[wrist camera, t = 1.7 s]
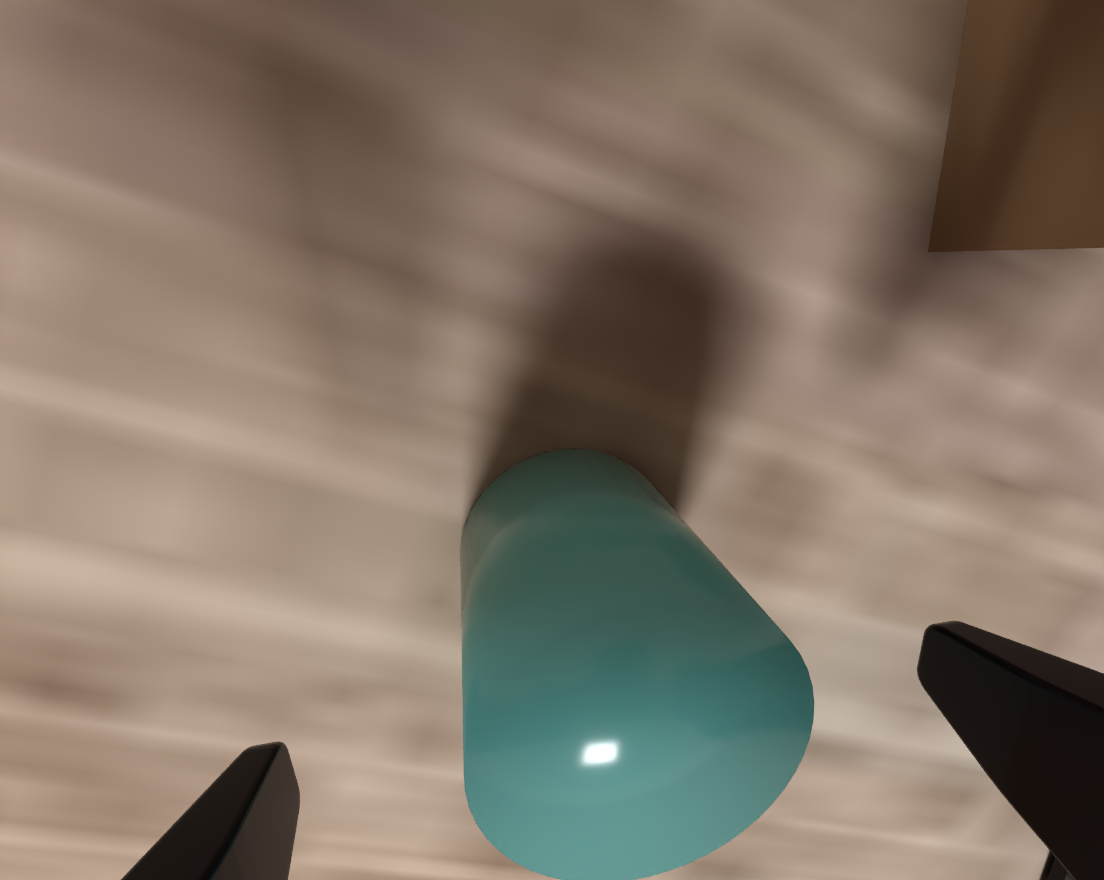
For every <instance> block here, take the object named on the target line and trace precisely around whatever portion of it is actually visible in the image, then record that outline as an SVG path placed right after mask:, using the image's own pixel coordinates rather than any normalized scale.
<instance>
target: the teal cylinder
mask: <svg viewBox="0 0 1104 880" xmlns="http://www.w3.org/2000/svg"><path fill="white" fill-rule="evenodd" d="M460 562H461V625H462V688H463V751H464V783H465V793H466V797H467V801H468V805H469V808H470V811H471V813H472V815H473V817H474V819H475V822H476V824H477V825H478V827H479V828H480V830H481V831H482V833H483V834H484V835H485V837H486V838H487V839H488V840H489V841H490V842H491V843H492V844H493V845H494V846H495V847H496V848H497V849H498V850H499V851H500V852H501V853H502V854H504V855H505V856H507V857H508V858H509V859H511V860H512V861H514V862H515V863H517V864H519V865H521V866H523V867H525V868H527V869H529V870H531V871H534V872H537V873H540V874H542V875H545V876H548V877H553V878H557V879H562V880H634V879H639V878H645V877H649V876H653V875H656V874H660V873H663V872H667V871H670V870H672V869H675V868H678V867H680V866H683V865H686V864H688V863H690V862H692V861H695V860H697V859H699V858H701V857H703V856H705V855H707V854H709V853H711V852H712V851H714V850H716V849H717V848H719V847H721V846H723V845H724V844H726V843H727V842H729V841H730V840H732V839H733V838H734V837H736V836H737V835H739V834H740V833H741V832H743V831H744V830H745V829H746V828H747V827H749V826H750V825H751V824H752V823H753V822H755V821H756V820H757V819H758V818H759V817H760V816H761V815H762V814H763V813H764V812H765V811H766V810H767V809H768V808H769V807H770V806H771V805H772V804H773V803H774V801H775V800H776V799H777V798H778V796H779V795H780V794H781V793H782V791H783V790H784V789H785V787H786V786H787V784H788V783H789V781H790V780H791V778H792V777H793V775H794V773H795V772H796V770H797V768H798V766H799V764H800V762H801V760H802V758H803V756H804V753H805V750H806V747H807V744H808V741H809V739H810V734H811V729H812V724H813V716H814V697H813V687H812V683H811V679H810V676H809V672H808V669H807V667H806V665H805V663H804V661H803V659H802V657H801V655H800V653H799V652H798V650H797V649H796V648H795V646H794V645H793V644H792V642H791V641H790V640H789V639H788V637H787V636H786V635H785V634H784V633H783V632H782V631H781V630H780V628H779V627H778V626H777V625H776V624H775V623H774V622H773V620H772V619H771V618H770V617H769V616H768V615H767V614H766V613H765V611H764V610H763V609H762V608H761V607H760V606H759V605H758V604H757V602H756V601H755V600H754V599H753V598H752V597H751V596H750V595H749V593H748V592H747V591H746V590H745V589H744V588H743V587H742V586H741V584H740V583H739V582H738V581H737V580H736V579H735V578H734V577H733V575H732V574H731V573H730V572H729V571H728V570H727V569H726V568H725V566H724V565H723V564H722V563H721V562H720V561H719V560H718V559H717V557H716V556H715V555H714V554H713V553H712V552H711V551H710V549H709V548H708V547H707V546H706V545H705V544H704V543H703V542H702V540H701V539H700V538H699V537H698V536H697V535H696V534H695V533H694V531H693V530H692V529H691V528H690V527H689V526H688V525H687V524H686V522H685V521H684V520H683V519H682V518H681V517H680V516H679V515H678V513H677V512H676V511H675V510H674V509H673V508H672V507H671V506H670V504H669V503H668V502H667V501H666V500H665V499H664V498H663V497H662V495H661V494H660V493H659V492H658V491H657V490H656V489H655V488H654V486H653V485H652V484H651V483H650V482H649V481H648V480H647V479H646V478H645V477H644V476H643V475H642V474H641V473H640V472H639V471H638V470H637V469H635V468H634V467H633V466H631V465H630V464H628V463H627V462H625V461H623V460H621V459H619V458H617V457H615V456H612V455H609V454H606V453H603V452H598V451H594V450H587V449H561V450H556V451H550V452H546V453H542V454H539V455H536V456H533V457H530V458H528V459H526V460H524V461H521V462H519V463H518V464H516V465H514V466H513V467H511V468H509V469H508V470H506V471H505V472H504V473H502V474H501V475H500V476H499V477H497V478H496V479H495V480H494V481H493V482H492V483H491V484H490V485H489V486H488V487H487V488H486V489H485V490H484V492H483V493H482V494H481V495H480V497H479V498H478V499H477V501H476V502H475V504H474V506H473V508H472V509H471V511H470V513H469V516H468V518H467V521H466V523H465V526H464V530H463V534H462V538H461V549H460Z"/></svg>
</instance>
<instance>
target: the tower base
mask: <svg viewBox="0 0 1104 880" xmlns="http://www.w3.org/2000/svg"><path fill="white" fill-rule="evenodd" d="M1066 248H1104V0H968V6H967V12H966V19H965V25H964V31H963V37H962V44H961V50H960V56H959V62H958V68H957V75H956V81H955V87H954V93H953V100H952V106H951V112H950V118H949V125H948V131H947V137H946V143H945V149H944V156H943V162H942V168H941V174H940V181H939V187H938V193H937V199H936V206H935V212H934V218H933V224H932V230H931V237H930V243H929V249H928V252H945V251H985V250H1025V249H1066Z"/></svg>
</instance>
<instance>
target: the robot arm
mask: <svg viewBox="0 0 1104 880" xmlns="http://www.w3.org/2000/svg"><path fill="white" fill-rule="evenodd" d="M917 673H918V677H919V680H920V682H921V685H922V686H923V688H924V689H925V691H926V692H927V693H928V695H929V696H930V698H931V699H932V700H933V702H934V703H935V704H936V706H937V707H938V708H939V710H940V711H941V712H942V714H943V715H944V717H945V718H946V719H947V721H948V722H949V723H950V725H951V726H952V727H953V729H954V730H955V731H956V733H957V734H958V736H959V737H960V738H961V740H962V741H963V742H964V744H965V745H966V746H967V748H968V749H969V751H970V752H971V753H972V755H973V756H974V757H975V759H976V760H977V761H978V763H979V764H980V765H981V767H982V768H983V770H984V771H985V772H986V774H987V775H988V776H989V778H990V779H991V780H992V781H993V783H994V784H995V785H996V787H997V788H998V789H999V791H1000V792H1001V793H1002V794H1003V796H1004V797H1005V798H1006V799H1007V800H1008V802H1009V803H1010V804H1011V805H1012V806H1013V808H1014V809H1015V810H1016V811H1017V812H1018V814H1019V815H1020V816H1021V817H1022V818H1023V819H1024V821H1025V822H1026V823H1027V824H1028V825H1029V827H1030V828H1031V829H1032V830H1033V831H1034V832H1035V834H1036V835H1037V836H1038V837H1039V838H1040V839H1041V841H1042V842H1043V843H1044V844H1045V845H1046V846H1047V848H1048V849H1049V850H1050V851H1051V852H1052V853H1053V855H1054V856H1055V860H1054V862H1053V865H1052V868H1051V871H1050V874H1049V876H1048V879H1047V880H1104V673H1101V672H1098V671H1095V670H1092V669H1090V668H1087V667H1084V666H1081V665H1079V664H1076V663H1073V662H1070V661H1068V660H1065V659H1062V658H1059V657H1057V656H1054V655H1051V654H1048V653H1046V652H1043V651H1040V650H1037V649H1035V648H1032V647H1029V646H1026V645H1023V644H1021V643H1018V642H1015V641H1012V640H1010V639H1007V638H1004V637H1001V636H999V635H996V634H993V633H990V632H988V631H985V630H982V629H979V628H977V627H974V626H971V625H968V624H966V623H963V622H959V621H948V622H942V623H937V624H932V625H930V626H928V627H927V628H926V630H925V632H924V636H923V641H922V646H921V651H920V656H919V661H918V666H917ZM299 807H300V792H299V786H298V783H297V779H296V776H295V772H294V769H293V766H292V762H291V759H290V755H289V752H288V749H287V747H286V745H285V744H284V743H283V742H272V743H267V744H261V745H256V746H251V747H249V748H247V749H246V750H244V751H243V752H242V753H241V754H240V755H239V756H238V757H237V758H236V759H235V760H234V761H233V762H232V763H231V765H230V766H229V767H228V768H227V769H226V770H225V771H224V772H223V773H222V774H221V775H220V776H219V777H218V778H217V779H216V780H215V781H214V782H213V783H212V785H211V786H210V787H209V788H208V789H207V790H206V791H205V792H204V793H203V794H202V795H201V796H200V797H199V798H198V799H197V800H196V801H195V802H194V803H193V804H192V806H191V807H190V808H189V809H188V810H187V811H186V812H185V813H184V814H183V815H182V816H181V817H180V818H179V819H178V820H177V821H176V822H175V823H174V824H173V826H172V827H171V828H170V829H169V830H168V831H167V832H166V833H165V834H164V835H163V836H162V837H161V838H160V839H159V840H158V841H157V842H156V843H155V844H154V845H153V847H152V848H151V849H150V850H149V851H148V852H147V853H146V854H145V855H144V856H143V857H142V858H141V859H140V860H139V861H138V862H137V863H136V864H135V865H134V866H133V868H132V869H131V870H130V871H129V872H128V873H127V874H126V875H125V876H124V877H123V878H122V879H121V880H288V875H289V869H290V863H291V857H292V851H293V845H294V839H295V833H296V827H297V820H298V814H299Z"/></svg>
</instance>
